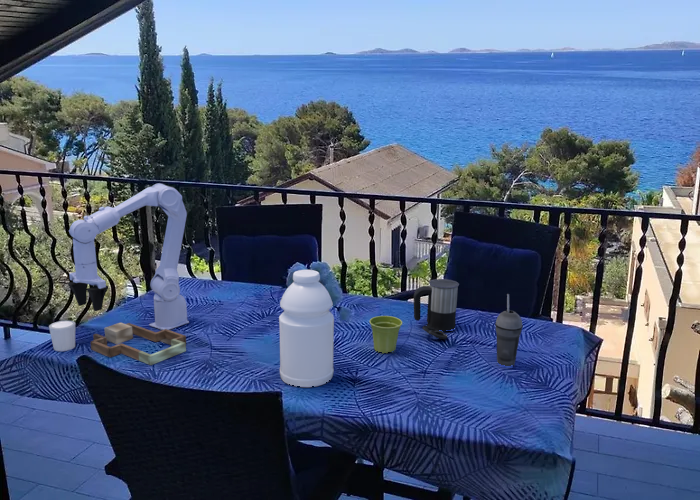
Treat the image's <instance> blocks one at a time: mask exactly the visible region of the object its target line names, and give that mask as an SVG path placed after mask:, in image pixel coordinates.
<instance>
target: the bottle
mask: <svg viewBox="0 0 700 500" xmlns="http://www.w3.org/2000/svg"><path fill="white" fill-rule="evenodd" d="M292 280H293V282H292V283H291V284H290V285H289V286H288V287H287V288H286V290H285V291H284V292H283V294H282V297H281V298H280V302H279V306H280V308H281V309H282V310H283V312H282V313H281V314H280V315H279V317H278V322H279V325H278V326H279V366H280V367H279V376H280V380H282V381H283V382H284V383H285V384H286V385H289V384H290V385H289V386H292V385H294V386H293V387H297V386H300V387H299V388H313V387H312V386H314V387H319V386H322V385H326V384H327V383H329V382H330V381H331V379H333V376H334V372H335V370H334V336H335V335H334V328H335V327H334V326H335V325H334V324H335V317H334V315H333V313H332V312H331V311H330V309H331V308H332V307H333V305H334V304H333V301H332V298H331V297H332V296H331V294H330V292H329V291H328V289H327V288H326V286H324V285H323V283H321V282H320V280H321V275H320V272H319V271H317V270H313V269H299V270H296V271H294V272H293V273H292ZM329 380H330V381H329ZM326 382H327V383H326Z"/></svg>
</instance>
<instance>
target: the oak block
mask: <svg viewBox="0 0 700 500" xmlns="http://www.w3.org/2000/svg"><path fill="white" fill-rule="evenodd" d="M126 324H127V323H123V322H117V323H114V324H112V325H109V326H106V327H103V331H104V337H107V342H109V343H113V344H115V345H118V344H121V343H122V344H123V343H125V342H127V341H130V340H132V339H134V334H133V332H132V326H129V325H126Z"/></svg>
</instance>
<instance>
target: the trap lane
mask: <svg viewBox="0 0 700 500" xmlns="http://www.w3.org/2000/svg"><path fill="white" fill-rule="evenodd" d="M125 324H126V325H129V326H132V332H133V335H135V336H136V337H137V336H138V337H140V338H143V339H146V340H149V341H151V342H154V343H157V342H161V343H163V344H166V345H168V346H170V347H167V348H164V349H162V350H159V351H157V352H154V353H148V352H145V351H143V350H141V349H137V348H135V347H134V346H133V347H132V346H130V345H127V344H124V343H123V342H122V343H119V344H115V345H113V346H108V341H107V337H105V335H101V334H98V333H94V334H93V335H92V336H93V337H92V338H93V340H90V342H89V343H90V350H91V351H93V352H96V353H97V354H101V355H103V356H105V357H107V358H113V357H115V356H118V355H124V356H127V357H130V358H132V359H133V360H136V361H138V362H139V361H140V362H142V363H143V364H144V363H145V364H146V365H149V366H153V365H155V364H158V363H160V362H162V361H166V360H168V359H169V358H170V359H171V358H172V357H175V356H177V355H180V354H182V353H185V352H187V335H184V334H182V333H178V332H175V331H172V330H171V329H170V330H167V329H164V330H159V331H153V330H150V329H148V328H144V327H142V326H138V325H136V324H133V323H131V322H128V323H125Z"/></svg>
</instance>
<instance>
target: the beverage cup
mask: <svg viewBox="0 0 700 500" xmlns="http://www.w3.org/2000/svg"><path fill="white" fill-rule="evenodd" d="M506 296H507V297H506V308H507V309H506V310H504V311H502V312H500V313H499V314H498V316H497V318H496V320H495V324H494V326H495V333H496V361H497V362H498V363H499V364H501V365H505V366H511V365H514V366H515V363H516V360H517V353H518V347H519V343H520V337H521V335H522V330H523V327H524V326H523V320H522V318H521V316H520V315H519V314H518V313H517V312H516V311H514V310H510V294H509V293H507V294H506ZM497 362H496V363H497Z"/></svg>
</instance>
